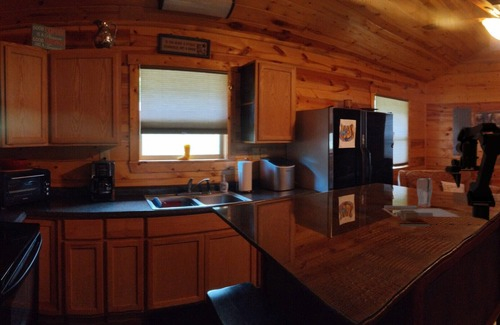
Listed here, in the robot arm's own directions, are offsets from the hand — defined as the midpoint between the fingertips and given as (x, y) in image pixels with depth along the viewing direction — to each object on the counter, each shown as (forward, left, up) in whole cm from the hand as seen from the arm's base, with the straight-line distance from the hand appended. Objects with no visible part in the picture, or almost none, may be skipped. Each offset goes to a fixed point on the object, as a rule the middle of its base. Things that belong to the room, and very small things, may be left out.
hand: (468, 187), depth 150 cm
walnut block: (-19, +34, -11) cm, 40 cm away
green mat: (-19, +34, -12) cm, 41 cm away
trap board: (-5, +24, -12) cm, 27 cm away
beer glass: (+11, +15, -12) cm, 22 cm away
